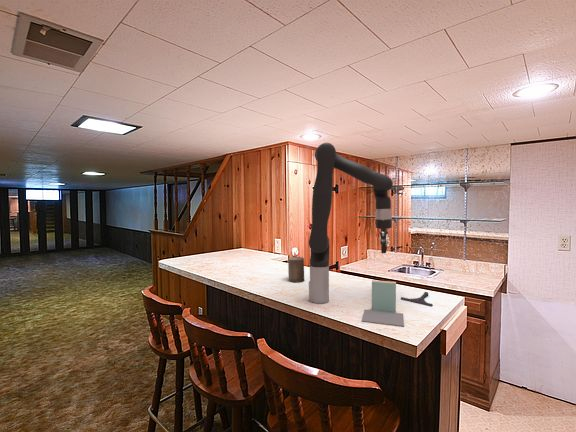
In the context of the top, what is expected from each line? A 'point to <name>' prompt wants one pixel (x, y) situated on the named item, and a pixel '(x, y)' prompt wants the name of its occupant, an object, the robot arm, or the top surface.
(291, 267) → the pillar candle
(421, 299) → the bracket
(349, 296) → the top surface
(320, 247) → the robot arm
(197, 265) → the top surface
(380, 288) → the tile
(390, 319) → the mat
